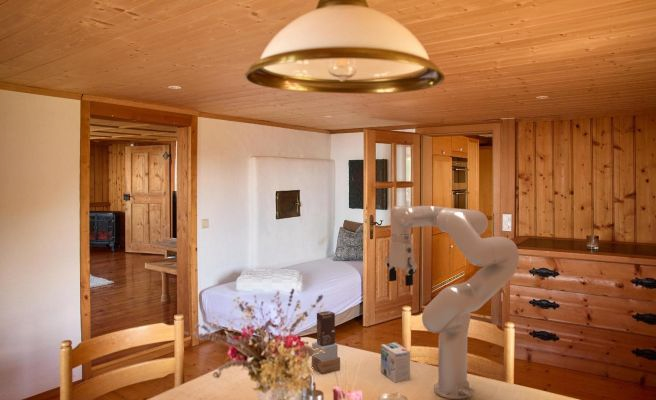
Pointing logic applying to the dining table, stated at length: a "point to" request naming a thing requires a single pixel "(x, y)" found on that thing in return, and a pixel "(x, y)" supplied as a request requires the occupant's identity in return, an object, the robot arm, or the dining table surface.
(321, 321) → the box
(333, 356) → the tower top
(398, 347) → the light bulb box
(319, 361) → the tower base
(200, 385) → the dining table surface
